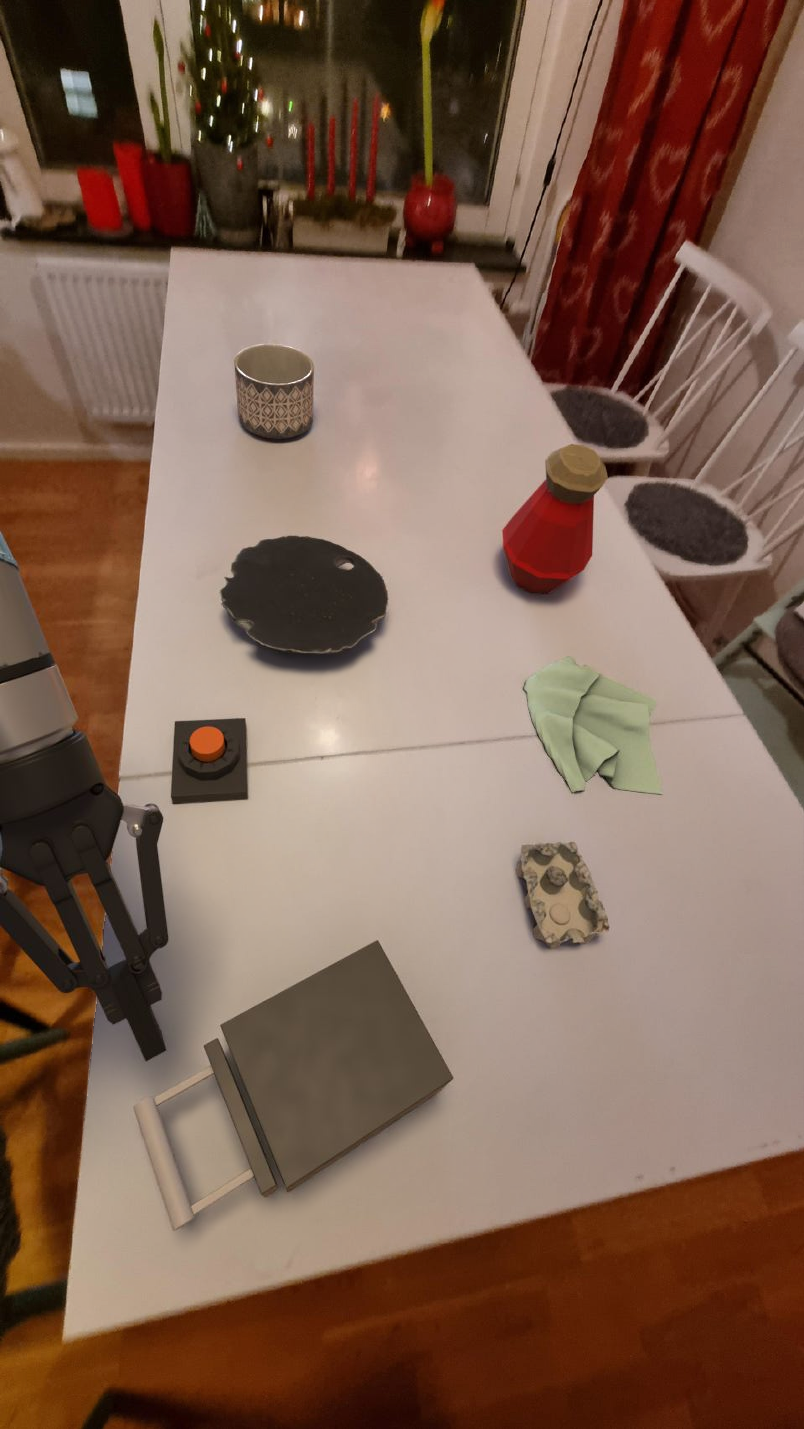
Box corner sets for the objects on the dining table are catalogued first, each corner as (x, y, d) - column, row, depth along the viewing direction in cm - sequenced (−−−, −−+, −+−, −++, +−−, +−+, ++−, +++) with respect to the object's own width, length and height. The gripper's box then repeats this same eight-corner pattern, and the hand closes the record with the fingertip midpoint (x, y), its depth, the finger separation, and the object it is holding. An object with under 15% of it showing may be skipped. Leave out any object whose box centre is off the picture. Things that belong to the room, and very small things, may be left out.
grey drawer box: (287, 1192, 57) (286, 1188, 50) (228, 1046, 63) (219, 1024, 56) (436, 1094, 62) (454, 1078, 56) (369, 967, 68) (377, 939, 61)
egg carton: (600, 946, 72) (614, 933, 69) (531, 951, 71) (542, 939, 68) (573, 851, 79) (586, 835, 75) (510, 855, 77) (519, 839, 74)
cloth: (556, 643, 97) (561, 631, 96) (700, 726, 92) (708, 716, 90) (481, 735, 87) (485, 724, 85) (638, 836, 81) (647, 826, 79)
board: (352, 549, 104) (354, 522, 100) (410, 656, 93) (415, 629, 89) (204, 577, 97) (200, 548, 93) (248, 696, 86) (246, 669, 82)
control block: (247, 799, 77) (245, 783, 75) (172, 804, 76) (168, 788, 73) (246, 725, 83) (244, 708, 80) (176, 729, 82) (172, 711, 79)
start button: (225, 761, 76) (223, 752, 75) (191, 763, 76) (189, 754, 74) (225, 734, 78) (223, 725, 77) (192, 736, 78) (190, 727, 76)
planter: (262, 395, 125) (260, 336, 117) (325, 418, 123) (327, 359, 115) (224, 428, 118) (218, 368, 110) (290, 453, 116) (289, 393, 108)
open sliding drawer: (188, 1247, 53) (176, 1250, 48) (140, 1101, 59) (123, 1088, 53) (408, 1103, 61) (419, 1091, 56) (347, 985, 66) (352, 963, 61)
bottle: (502, 530, 111) (537, 413, 95) (584, 553, 110) (634, 439, 94) (482, 594, 102) (517, 477, 85) (572, 620, 101) (624, 506, 85)
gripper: (119, 706, 50) (228, 978, 56) (-82, 774, 45) (60, 1065, 51) (129, 717, 44) (251, 1025, 49) (-106, 799, 39) (60, 1131, 45)
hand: (153, 1045), depth 50 cm, fingers closed
